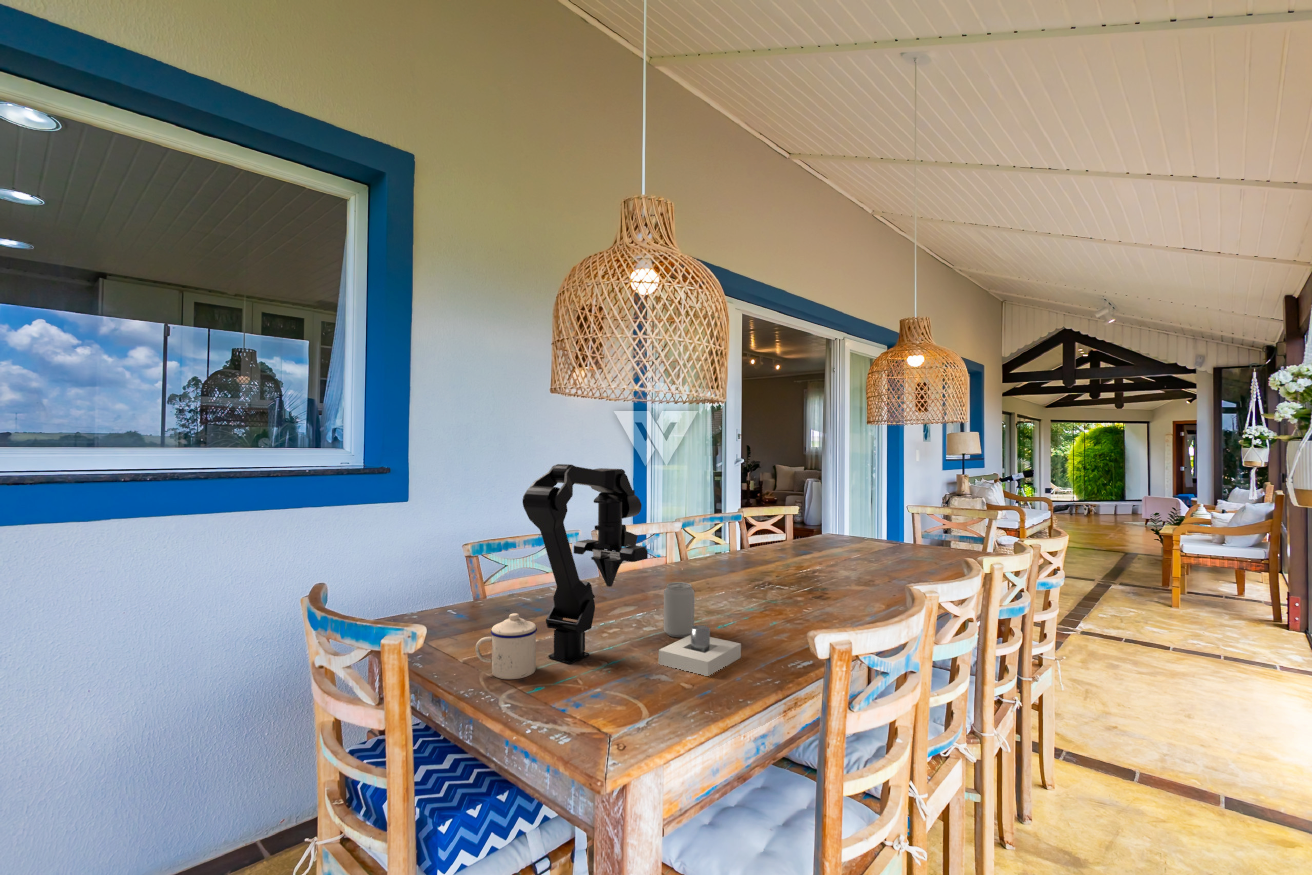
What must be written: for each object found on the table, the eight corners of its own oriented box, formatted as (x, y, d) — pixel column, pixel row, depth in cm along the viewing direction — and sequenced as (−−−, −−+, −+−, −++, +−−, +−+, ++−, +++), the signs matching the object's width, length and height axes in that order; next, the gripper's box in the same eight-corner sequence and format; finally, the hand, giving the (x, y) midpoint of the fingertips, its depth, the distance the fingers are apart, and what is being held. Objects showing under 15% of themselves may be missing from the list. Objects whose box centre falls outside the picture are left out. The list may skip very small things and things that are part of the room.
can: (658, 635, 151) (658, 585, 151) (671, 627, 157) (672, 579, 157) (686, 640, 147) (686, 589, 147) (699, 631, 154) (699, 582, 154)
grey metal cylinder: (703, 665, 131) (703, 632, 131) (687, 661, 133) (687, 628, 133) (713, 660, 134) (713, 627, 134) (697, 656, 136) (697, 624, 136)
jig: (707, 677, 124) (708, 661, 124) (658, 664, 131) (658, 649, 131) (740, 657, 136) (740, 643, 136) (693, 646, 143) (693, 633, 143)
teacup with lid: (535, 662, 132) (536, 607, 132) (537, 678, 123) (537, 619, 123) (476, 666, 129) (477, 610, 129) (474, 683, 120) (474, 622, 120)
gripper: (661, 520, 151) (660, 585, 151) (602, 514, 161) (601, 575, 161) (633, 525, 142) (632, 594, 141) (572, 519, 152) (571, 583, 152)
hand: (609, 586), depth 149 cm, fingers closed
